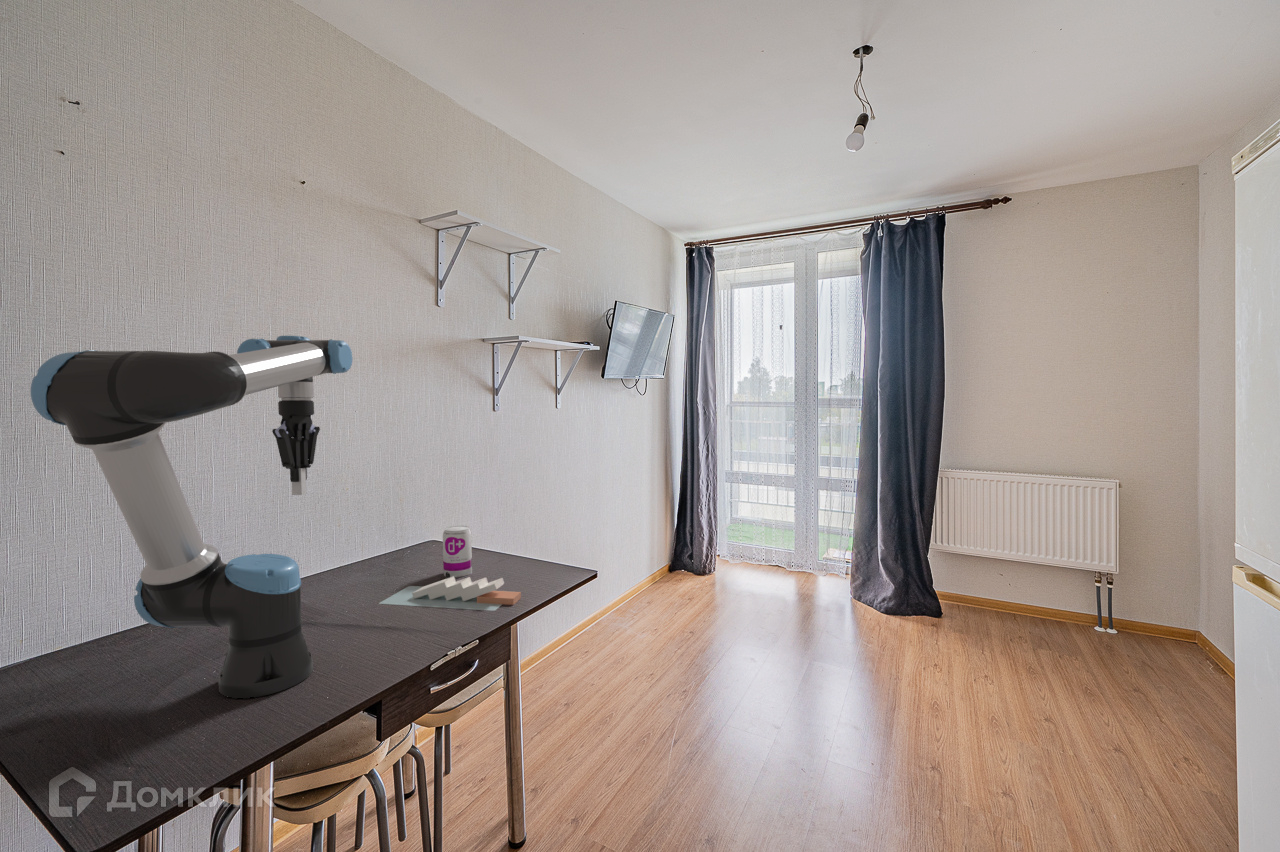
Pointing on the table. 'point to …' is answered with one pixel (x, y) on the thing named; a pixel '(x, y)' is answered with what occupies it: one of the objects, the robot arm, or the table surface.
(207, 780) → the table surface
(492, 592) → the domino
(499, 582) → the domino
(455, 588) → the domino
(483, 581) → the domino
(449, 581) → the domino
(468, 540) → the supplement can
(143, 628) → the table surface
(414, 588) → the domino board
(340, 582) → the table surface
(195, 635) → the table surface
